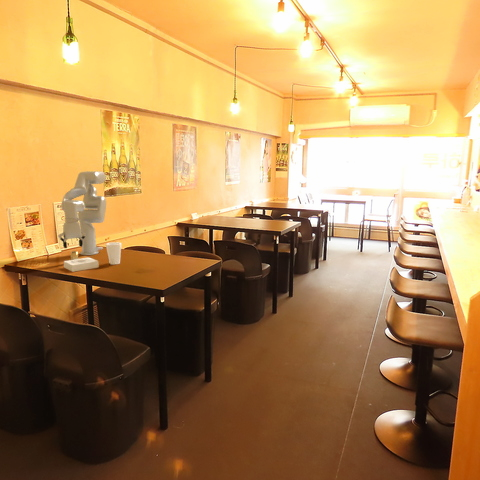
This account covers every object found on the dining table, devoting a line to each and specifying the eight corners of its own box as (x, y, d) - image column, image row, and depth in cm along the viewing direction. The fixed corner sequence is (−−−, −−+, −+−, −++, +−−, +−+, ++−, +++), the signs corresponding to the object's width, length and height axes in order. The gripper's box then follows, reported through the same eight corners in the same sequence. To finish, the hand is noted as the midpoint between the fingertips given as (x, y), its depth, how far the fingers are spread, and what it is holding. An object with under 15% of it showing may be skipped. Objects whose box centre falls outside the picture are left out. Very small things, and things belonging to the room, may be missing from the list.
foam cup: (125, 262, 264) (124, 242, 261) (115, 265, 255) (114, 245, 253) (114, 261, 268) (112, 241, 265) (103, 264, 259) (102, 244, 257)
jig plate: (89, 263, 261) (89, 257, 261) (98, 267, 251) (98, 261, 251) (64, 267, 251) (63, 261, 250) (72, 271, 241) (72, 265, 240)
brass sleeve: (77, 261, 267) (76, 250, 266) (79, 262, 264) (78, 251, 263) (70, 262, 264) (69, 251, 263) (72, 263, 261) (71, 252, 260)
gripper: (82, 219, 267) (84, 245, 270) (55, 221, 256) (57, 247, 258) (87, 220, 262) (88, 246, 264) (59, 222, 250) (61, 249, 253)
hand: (73, 247), depth 261 cm, fingers open, 9 cm apart
